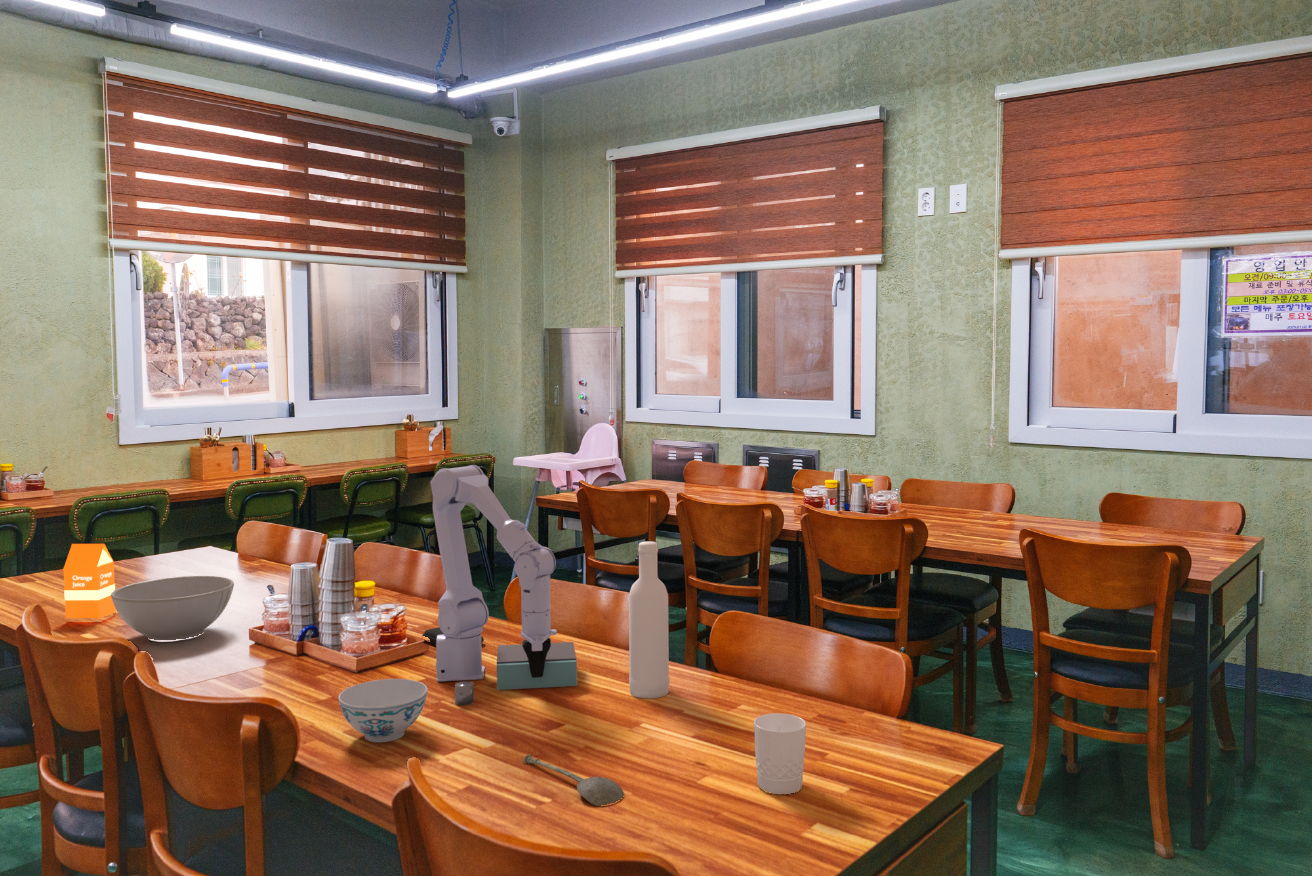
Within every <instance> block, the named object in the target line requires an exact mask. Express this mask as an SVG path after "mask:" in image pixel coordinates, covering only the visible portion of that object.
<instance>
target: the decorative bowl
mask: <svg viewBox="0 0 1312 876" xmlns="http://www.w3.org/2000/svg"><path fill="white" fill-rule="evenodd" d="M234 586H235V583H234V581H233V580H232V579H231V578H227V577H223V576H215V575H214V576H213V575H190V576H189V575H186V576H173V577H164V578H163V577H162V578H155V579H150V580H144V581H139V582H135V583H134V582H133V583H130V584H127V585H122V586H120V587H118V588H115V590H114V591H113V592H112V593H111V599H112V602H113V604H114V606H115V608H116V613H117V614H118V615H119V617H120V618H121V619H122V620H123V621H124V623H125V624H126V625H128V626H129V627H130V628H131V629H132V630H134V631H135V632H136V633H139V634H142V635H144V636H146V638H147V637H148V638H149V639H154V640H176V639H186V638H189V637H194V636H198V635H199V634H202V633H203V632H204V631H205V629H206V628H208V627H209V626H211V625H212V624H213V623H214V622H215V621H217V619H219V618H220V616H221V615H222V614H223V612H224V611H225V610H226V609H225V608H226V607H227V606H228V604H229V601H230V600H231V597H232V594H233V590H234ZM203 634H204V633H203ZM203 634H202V635H203Z"/></svg>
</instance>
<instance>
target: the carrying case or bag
mask: <svg viewBox="0 0 1312 876" xmlns="http://www.w3.org/2000/svg"><path fill="white" fill-rule="evenodd" d="M443 634H444V633H443V632H442V631H441V629H440V627H439V626H438V627H433V628H428V629H425V631H424V632H423V633H422V635H421V637H422V636H425V637H428V638H429V639H430V643H429V644H431V643H432V644H431V645H433V646H436V641H437V635H443ZM484 641H485V638H484V637H483V636H482V635H481V645H482V644H483V643H484Z"/></svg>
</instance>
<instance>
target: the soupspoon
mask: <svg viewBox="0 0 1312 876" xmlns="http://www.w3.org/2000/svg"><path fill="white" fill-rule="evenodd" d="M522 761H523V763H525V764H529V765H540V766H542V767H544V768H547V769H549V770H552V771H554V772H557V773H560V774H562V775H563V776H566V777H568V778H570V779H572V780H573V781H575V782H577V785H576V790H577V792H578V794H580V796H581V797H582V798H584V799H585V800H586V801H588V803H590V804H591V805H593V806H596V807H599V806H601V805H607V804H610V803H615V802H616V801H618V800H621V798H623V796H624V795H625V793H624V790H623V788H622V787H621V786H620V785H619V784H618V783H616V782H615V781H614V780H612V779H609V778H607V777H603V776H591V777H588V778H583V777H581V776H579V775H577V774H575V773H573V772H570V771H568V770H565V769H563V768H560V767H557V766H555V765H552V764H549V763H547V762H544V761H541V760H540V759H539V758H535V757H533V756H532V755H531V754H526V755H525V756H524V757H523V759H522ZM621 801H622V800H621Z"/></svg>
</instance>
